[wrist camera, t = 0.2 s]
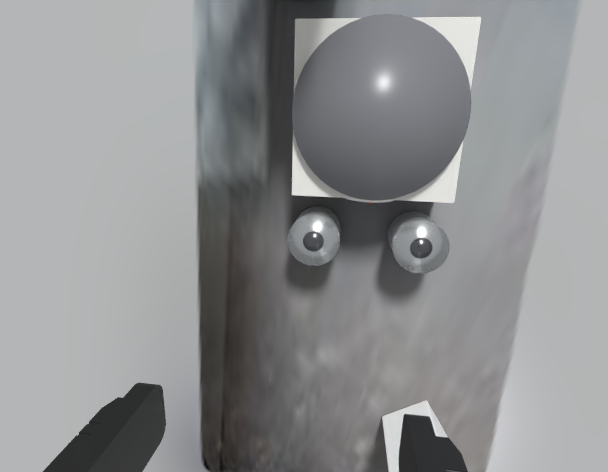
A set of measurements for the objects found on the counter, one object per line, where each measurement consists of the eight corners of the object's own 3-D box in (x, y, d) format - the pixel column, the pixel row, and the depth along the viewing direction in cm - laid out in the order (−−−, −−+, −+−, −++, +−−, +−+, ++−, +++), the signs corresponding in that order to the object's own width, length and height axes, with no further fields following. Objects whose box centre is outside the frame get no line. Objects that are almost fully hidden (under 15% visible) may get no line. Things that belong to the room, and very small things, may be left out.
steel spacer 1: (295, 204, 37) (287, 214, 33) (342, 207, 37) (341, 217, 32) (294, 249, 39) (286, 264, 34) (339, 251, 38) (338, 268, 33)
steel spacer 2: (389, 209, 36) (396, 220, 31) (439, 212, 36) (453, 223, 31) (385, 254, 38) (390, 271, 33) (432, 257, 37) (445, 275, 32)
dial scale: (304, 40, 33) (293, 15, 26) (457, 39, 31) (485, 13, 25) (300, 191, 37) (290, 202, 30) (436, 198, 35) (455, 211, 29)
